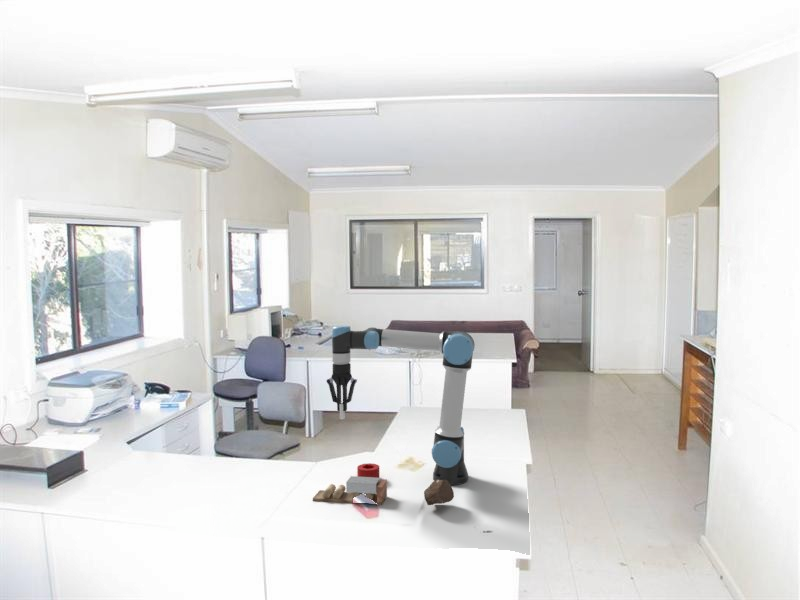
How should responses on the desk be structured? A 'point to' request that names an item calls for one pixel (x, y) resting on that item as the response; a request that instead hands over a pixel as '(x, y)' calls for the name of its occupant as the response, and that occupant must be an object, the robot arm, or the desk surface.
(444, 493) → the rock
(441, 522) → the desk surface
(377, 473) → the lever
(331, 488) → the roller
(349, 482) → the slab
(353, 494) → the roller
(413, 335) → the robot arm
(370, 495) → the roller
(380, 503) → the board
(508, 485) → the desk surface
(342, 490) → the cylinder
